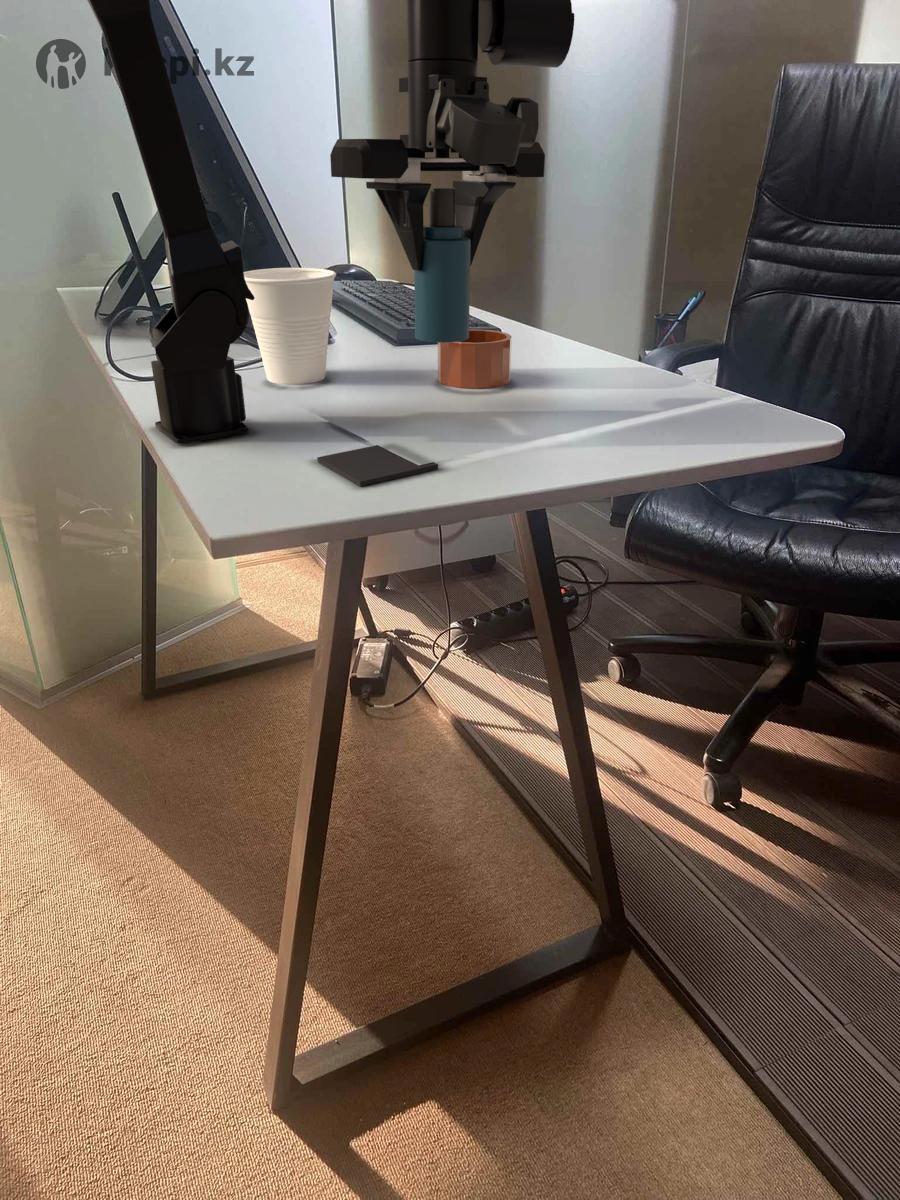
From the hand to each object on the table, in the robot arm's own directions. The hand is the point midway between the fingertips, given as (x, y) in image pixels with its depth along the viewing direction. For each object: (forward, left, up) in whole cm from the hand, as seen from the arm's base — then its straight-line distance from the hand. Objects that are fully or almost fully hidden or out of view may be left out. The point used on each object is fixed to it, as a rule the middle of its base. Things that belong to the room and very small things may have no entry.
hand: (441, 268), depth 77 cm
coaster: (-14, -11, -13) cm, 22 cm away
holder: (+8, +6, -13) cm, 17 cm away
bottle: (0, 0, -6) cm, 6 cm away
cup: (-7, +18, -13) cm, 23 cm away
